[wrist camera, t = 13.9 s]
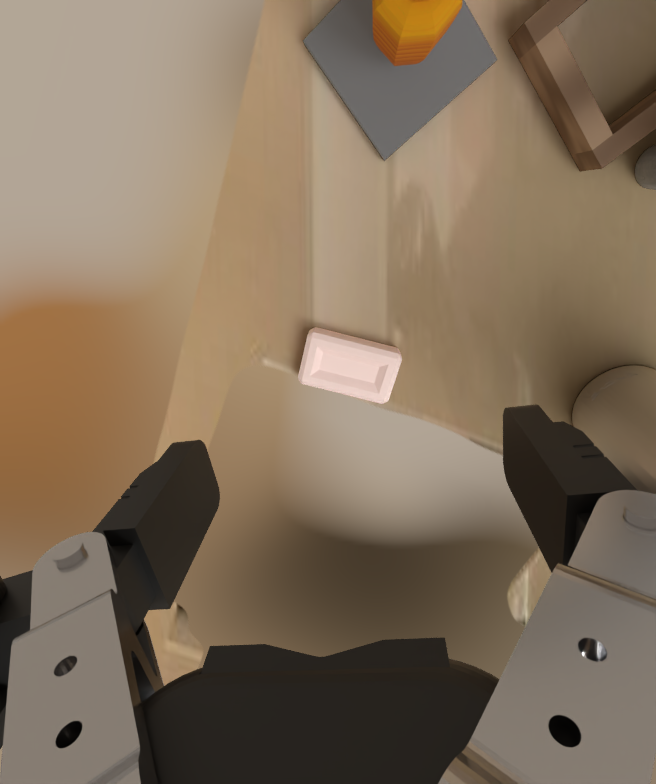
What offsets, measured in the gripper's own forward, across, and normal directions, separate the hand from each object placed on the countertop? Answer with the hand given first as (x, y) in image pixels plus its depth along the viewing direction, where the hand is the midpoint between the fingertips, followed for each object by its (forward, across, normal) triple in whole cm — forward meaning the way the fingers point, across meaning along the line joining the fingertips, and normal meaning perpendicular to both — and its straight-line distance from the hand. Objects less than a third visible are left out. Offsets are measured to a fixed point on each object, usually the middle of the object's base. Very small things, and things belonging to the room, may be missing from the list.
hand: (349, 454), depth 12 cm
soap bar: (+31, +2, +8) cm, 32 cm away
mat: (+30, -5, -16) cm, 34 cm away
